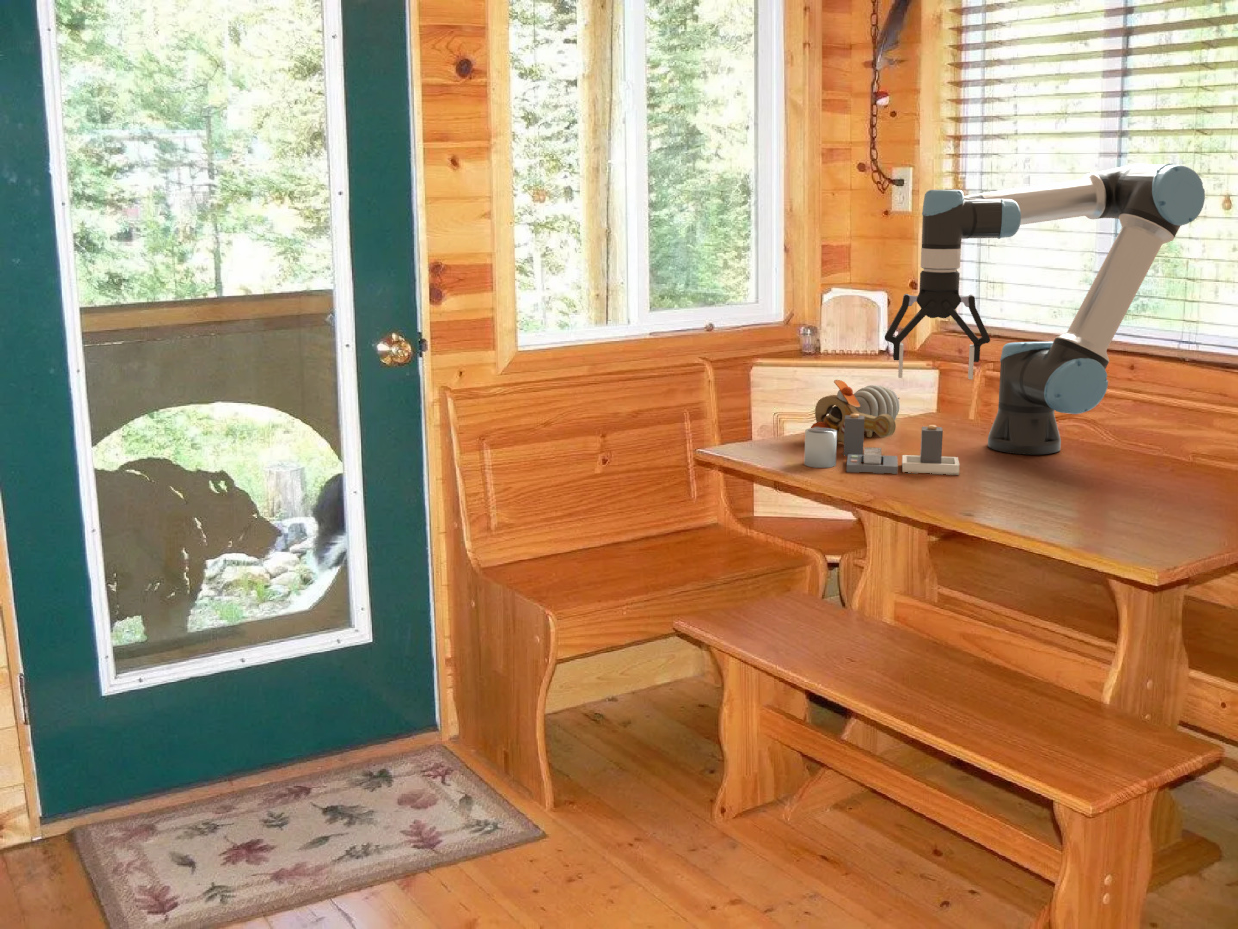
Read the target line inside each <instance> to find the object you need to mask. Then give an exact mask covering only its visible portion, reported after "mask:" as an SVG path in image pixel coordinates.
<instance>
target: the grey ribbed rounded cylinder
mask: <svg viewBox="0 0 1238 929" xmlns="http://www.w3.org/2000/svg"><path fill="white" fill-rule="evenodd" d="M853 395H854V396H855V398H856V399H857V401H858V402H859V404H860V407H855V408H856V410H857V411H858V412H859V413H863V414H868V415H872V416H876V417H877V416H879V415H882V414H888V415H890V416H891V417H893V419H894V421H895V422H896V419H897V416H898V415H899V412H900V397H898V395H897V393H895V391H894V390H892V389H891V388H889V387H888V386H887V387H886V386H883V385H877V384H871V385H867V386H864V387H862V388H860V389H858V390H857V391H855V392H853ZM864 432H866V437H867V438H872V437H873V433H875V432H874V431H870V430H864Z"/></svg>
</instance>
